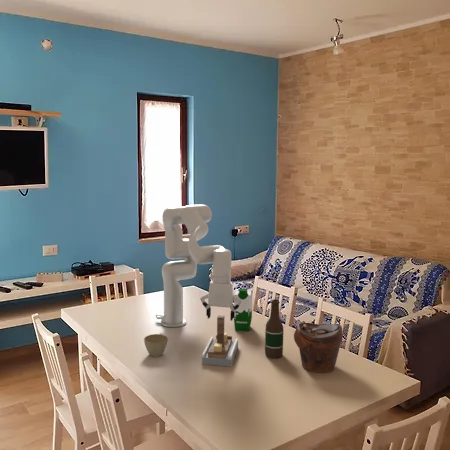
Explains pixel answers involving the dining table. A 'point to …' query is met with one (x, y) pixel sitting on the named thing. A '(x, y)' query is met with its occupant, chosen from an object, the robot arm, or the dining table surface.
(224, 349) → the brown base with upright
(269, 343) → the beer bottle
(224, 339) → the block
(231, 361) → the tray
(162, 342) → the flower pot
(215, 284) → the robot arm
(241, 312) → the milk carton
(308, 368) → the brown lidded bucket
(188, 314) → the dining table surface
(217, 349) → the crate
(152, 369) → the dining table surface
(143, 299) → the dining table surface
